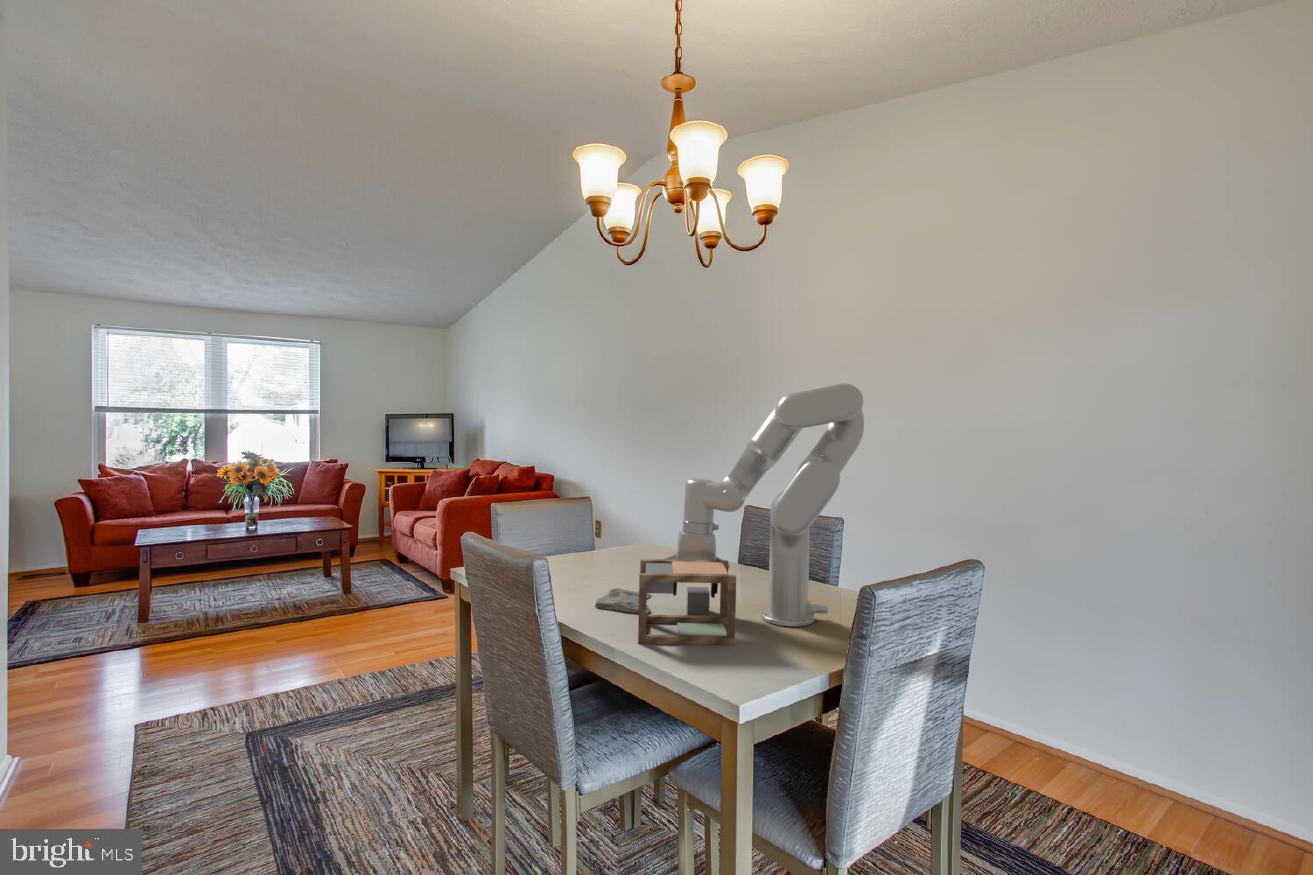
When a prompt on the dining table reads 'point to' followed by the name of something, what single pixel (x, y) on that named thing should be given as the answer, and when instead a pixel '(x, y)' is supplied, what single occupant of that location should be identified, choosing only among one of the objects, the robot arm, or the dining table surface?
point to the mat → (701, 629)
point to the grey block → (697, 601)
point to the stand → (725, 615)
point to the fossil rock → (621, 601)
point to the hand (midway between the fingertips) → (693, 595)
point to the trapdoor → (680, 572)
